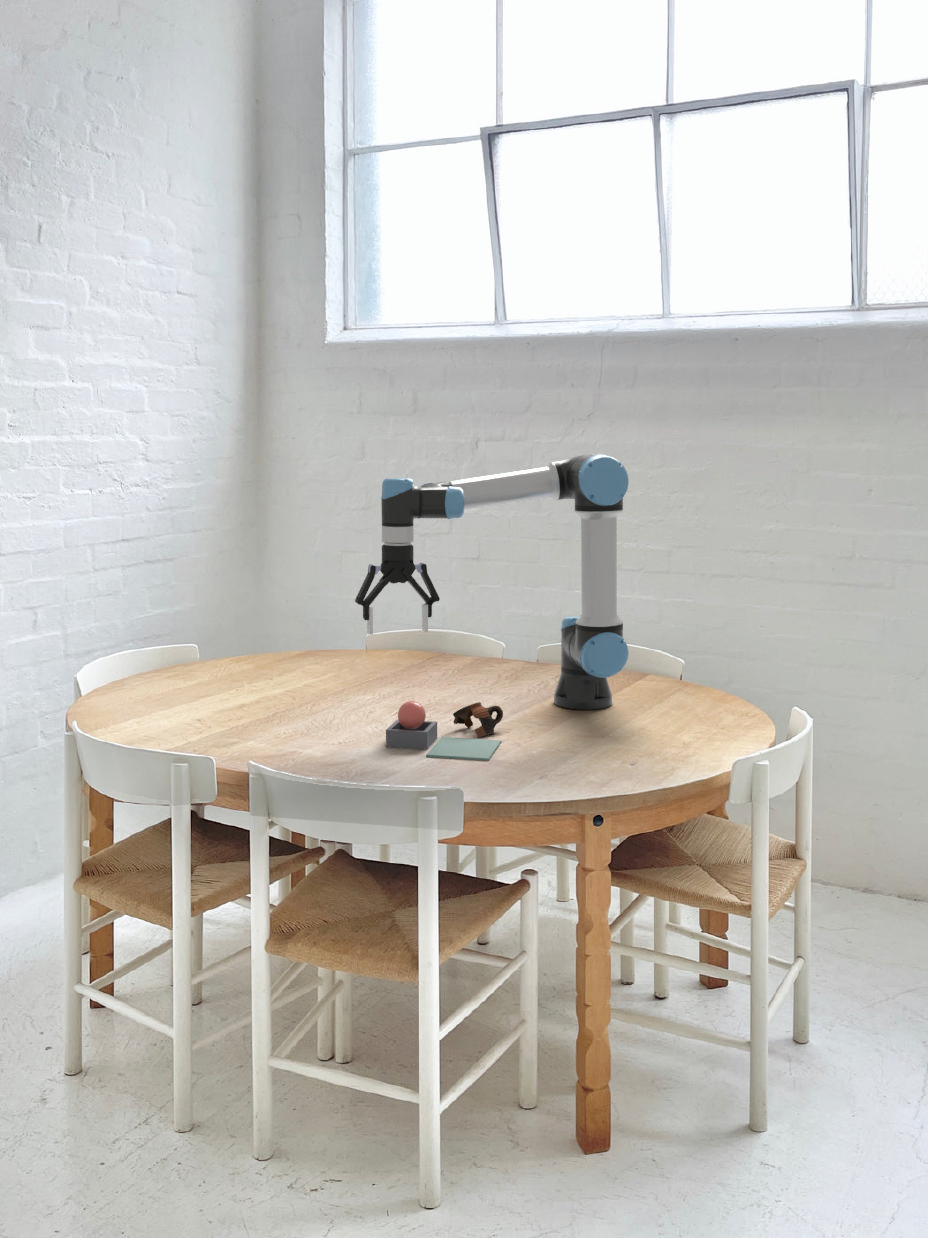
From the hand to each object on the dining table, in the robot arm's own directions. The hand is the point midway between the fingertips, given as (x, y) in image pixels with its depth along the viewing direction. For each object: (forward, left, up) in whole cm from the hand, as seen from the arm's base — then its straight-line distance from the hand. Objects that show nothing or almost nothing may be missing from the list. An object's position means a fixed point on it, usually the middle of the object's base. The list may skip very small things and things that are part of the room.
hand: (397, 632), depth 275 cm
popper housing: (-7, +14, -23) cm, 28 cm away
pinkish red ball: (-7, +14, -20) cm, 25 cm away
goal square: (-20, +17, -23) cm, 35 cm away
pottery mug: (-20, +2, -23) cm, 31 cm away
